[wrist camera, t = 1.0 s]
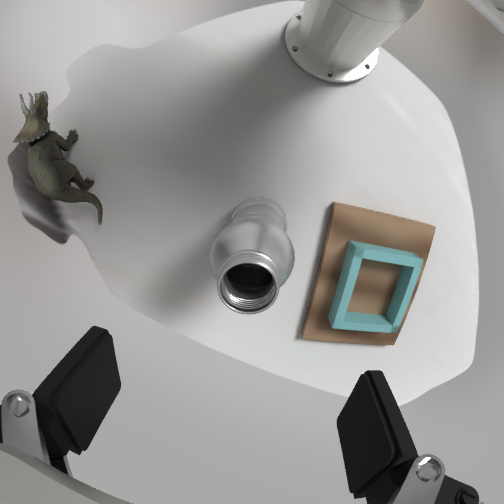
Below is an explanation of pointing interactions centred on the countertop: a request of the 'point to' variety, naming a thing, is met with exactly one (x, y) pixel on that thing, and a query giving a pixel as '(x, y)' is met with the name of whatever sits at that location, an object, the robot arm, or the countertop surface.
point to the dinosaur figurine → (52, 157)
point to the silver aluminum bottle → (252, 256)
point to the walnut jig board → (366, 276)
